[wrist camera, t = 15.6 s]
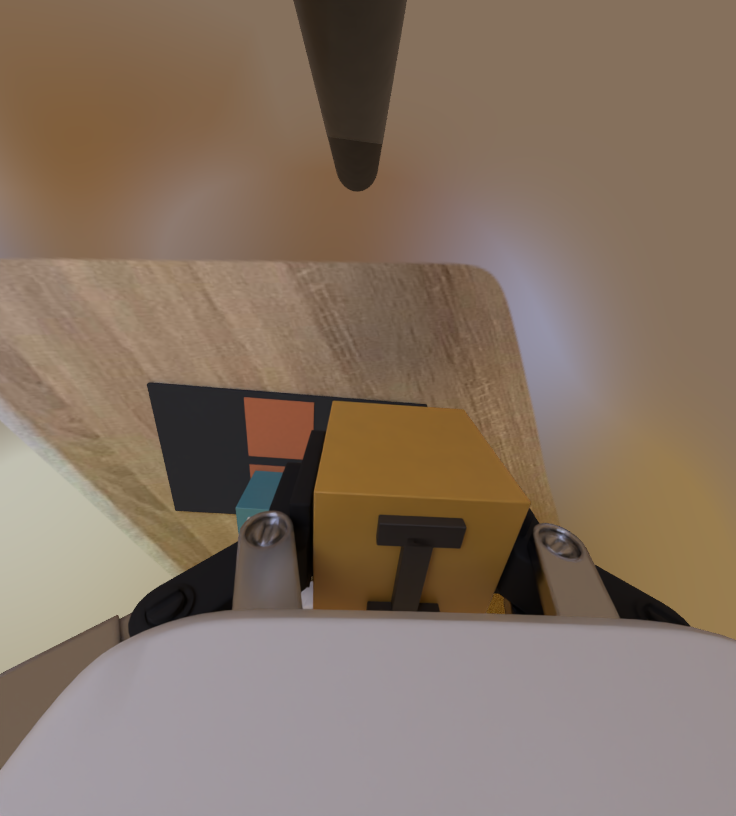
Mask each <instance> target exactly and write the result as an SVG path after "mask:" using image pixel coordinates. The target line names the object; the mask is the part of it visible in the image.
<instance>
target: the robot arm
mask: <svg viewBox="0 0 736 816" xmlns="http://www.w3.org/2000/svg"><path fill="white" fill-rule="evenodd" d="M325 436H326V431H321V430H311V433H310V436H309V440H308V443H307V446H306V450H305V453H304V456H303V460H302V463H296V462H287V464H286V466H285V468H284V471H283V474H282V476H281V479H280V482H279V484H278V487H277V490H276V492H275V495H274V498H273V500H272V503H271V506H270V508H269V511H264V512H260V513H257V514H255V515H253V516H251V517H250V518H249V519H248V520H246V521H245V522H244V524H243V525H242V527H241V528H240V532H239V537H238V542H236V543H234V544H232V545H231V546H229V547H227V548H225V549H224V550H222V551H220V552H218V553H217V554H215V555H213V556H211V557H210V558H208V559H206V560H204V561H203V562H201V563H199V564H197V565H196V566H194V567H192V568H190V569H188V570H187V571H185V572H183V573H181V574H180V575H178V576H176V577H174V578H173V579H171V580H169V581H167V582H166V583H164V584H162V585H160V586H159V587H157V588H156V589H154V590H153V591H151V592H150V593H149V594H147V595H146V596H145V597H144V598H143V599H142V600H141V601H140V602H139V603H138V604H137V606H136V607H135V609H134V610H133V612H132V613H130V614H128V615H127V616H124V617H123V618H121V619H119V616H118V615H116V616H114V617H112V618H110V619H108V620H106V621H104V622H102V623H100V624H98V625H96V626H94V627H92V628H90V629H88V630H86V631H84V632H83V633H80V634H78V635H76V636H74V637H72V638H70V639H68V640H66V641H64V642H62V643H60V644H58V645H56V646H54V647H52V648H50V649H49V650H47V651H44V652H42V653H40V654H39V655H36V656H35V657H33V658H30V659H29V660H27V661H25V662H23V663H21V664H19V665H17V666H15V667H13V668H11V669H9V670H7V671H5V672H3V673H1V674H0V816H736V640H734V639H732V638H729V637H726V636H723V635H720V634H716V633H712V632H709V631H704V630H701V629H697V628H694V627H691V626H690V625H689V624H688V623H687V622H686V621H685V620H684V619H683V618H682V617H681V616H680V615H678V614H677V613H676V612H675V611H674V610H672V609H671V608H669V607H668V606H666V605H665V604H663V603H662V602H660V601H658V600H656V599H655V598H653V597H651V596H649V595H647V594H646V593H644V592H642V591H641V590H639V589H637V588H635V587H633V586H632V585H630V584H628V583H626V582H625V581H623V580H621V579H619V578H617V577H616V576H614V575H612V574H610V573H609V572H607V571H605V570H603V569H602V568H600V567H598V566H596V565H594V563H593V561H592V559H591V557H590V555H589V552H588V551H587V548H586V547H585V546H584V544H583V542H582V541H581V540H580V539H579V538H578V537H577V536H575V535H574V534H572V533H571V532H570V531H568V530H566V529H564V528H562V527H560V526H557V525H554V524H549V523H541V524H540V523H539V522H538V521H537V519H536V518H535V516H534V514H533V512H532V511H531V509H530V508H529V510H528V512H527V514H526V517H525V519H524V522H523V524H522V527H521V529H520V531H519V534H518V536H517V539H516V541H515V543H514V546H513V548H512V551H511V553H510V556H509V558H508V560H507V563H506V565H505V568H504V570H503V573H502V575H501V577H500V580H499V582H498V585H497V587H496V589H495V592H494V593H498V594H500V595H501V596H503V597H504V609H505V614H484V613H449V612H412V611H369V610H324V609H303V607H302V598H301V592H302V591H303V590H305V589H306V587H310V582H311V576H313V522H314V488H315V484H316V479H317V474H318V469H319V464H320V460H321V455H322V450H323V445H324V440H325Z"/></svg>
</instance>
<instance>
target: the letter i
mask: <svg viewBox="0 0 736 816" xmlns="http://www.w3.org/2000/svg"><path fill="white" fill-rule="evenodd" d="M530 505H531V502H530V500H529V499H528V497H527V496H526V495H525V493H524V492H523V491H522V489H521V488H520V486H519V485H518V484H517V482H516V481H515V480H514V478H513V477H512V475H511V474H510V473H509V471H508V470H507V468H506V467H505V466H504V464H503V463H502V462H501V460H500V459H499V457H498V456H497V455H496V453H495V452H494V451H493V449H492V448H491V446H490V445H489V444H488V442H487V441H486V439H485V438H484V437H483V435H482V434H481V433H480V431H479V430H478V428H477V427H476V426H475V424H474V423H473V422H472V420H471V419H470V417H469V416H468V415H467V413H466V412H465V410H463V409H449V408H434V407H419V406H404V405H390V404H375V403H360V402H345V401H333V402H332V407H331V412H330V416H329V421H328V426H327V431H326V436H325V440H324V445H323V450H322V455H321V460H320V464H319V469H318V474H317V479H316V484H315V488H314V522H313V609H324V610H369V611H412V612H449V613H484V614H486V611H487V609H488V606H489V604H490V602H491V599H492V597H493V594H494V592H495V589H496V587H497V585H498V582H499V580H500V577H501V575H502V573H503V570H504V568H505V565H506V563H507V560H508V558H509V556H510V553H511V551H512V548H513V546H514V543H515V541H516V539H517V536H518V534H519V531H520V529H521V527H522V524H523V522H524V519H525V517H526V514H527V512H528V510H529V507H530Z"/></svg>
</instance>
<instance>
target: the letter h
mask: <svg viewBox="0 0 736 816" xmlns="http://www.w3.org/2000/svg"><path fill="white" fill-rule="evenodd" d="M282 474H283V472H269V471H255V472H254V474H253V476H252V478H251V480H250V481H249V483H248V485H247V487H246V489H245V491H244V493H243V495H242V497H241V498H240V500H239V502H238V504H237V506H236V516H237V524H238V533H239V532H240V528H241V527H242V525H243V524H244V522H245V521H246V520H248V519H249V518H250V517H251V516H253V515H255V514H257V513H260V512H264V511H269V508H270V506H271V503H272V500H273V498H274V495H275V492H276V490H277V487H278V484H279V482H280V479H281V476H282Z"/></svg>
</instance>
